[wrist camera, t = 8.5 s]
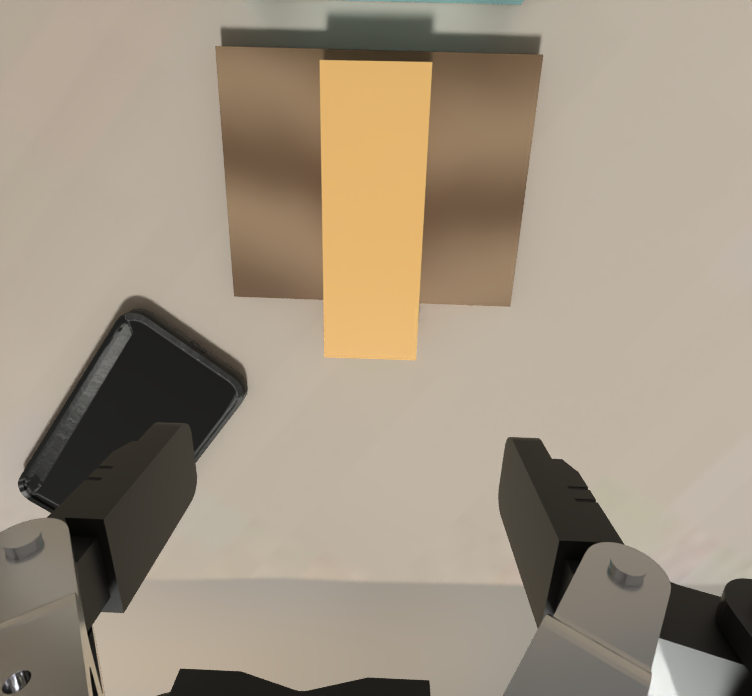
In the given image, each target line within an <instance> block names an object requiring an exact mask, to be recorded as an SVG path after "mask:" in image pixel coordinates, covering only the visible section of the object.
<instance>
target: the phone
mask: <svg viewBox="0 0 752 696" xmlns="http://www.w3.org/2000/svg"><path fill="white" fill-rule="evenodd" d="M191 344H192V345H194V346H195V347H197V348H198V349H199V350H198V349H197V348H195V347H194V346H192V345H191ZM200 350H201V351H202V352H204V353H205V354H204V353H202V352H201V351H200ZM227 367H228V368H229V369H227ZM247 389H248V388H247V384H246V381H245V379H244V378H243V376H241V375H240V374H239V373H238V372H237V371H235V370H234V369H232V368H231V367H230V366H228V365H227V364H225V363H224V362H222V361H221V360H219V359H218V358H217V357H215V356H214V355H212V354H211V353H209V352H208V351H207V350H205V349H204V348H202V347H201V346H199V345H198V344H196V343H195V342H194V341H192V340H191V339H189V338H188V337H186V336H185V335H183V334H182V333H181V332H179V331H178V330H176V329H175V328H173V327H172V326H170V325H169V324H168V323H166V322H165V321H163V320H162V319H160V318H159V317H158V316H156V315H155V314H153V313H151V312H149V311H147V310H142V309H137V310H132V311H130V312H128V313H126V314H124V315H122V316H121V317H120V318H119V319H118V320H117V321H116V323H115V324H114V326H113V328H112V329H111V331H110V332H109V334H108V336H107V337H106V339H105V341H104V342H103V344H102V345H101V347H100V349H99V350H98V352H97V353H96V355H95V357H94V358H93V360H92V362H91V363H90V365H89V366H88V368H87V370H86V371H85V373H84V375H83V376H82V378H81V379H80V381H79V383H78V384H77V386H76V387H75V389H74V391H73V392H72V394H71V396H70V397H69V399H68V400H67V402H66V404H65V405H64V407H63V408H62V410H61V412H60V413H59V415H58V417H57V418H56V420H55V421H54V423H53V425H52V426H51V428H50V430H49V431H48V433H47V434H46V436H45V438H44V439H43V441H42V442H41V444H40V446H39V447H38V449H37V451H36V452H35V454H34V455H33V457H32V459H31V460H30V462H29V463H28V465H27V467H26V468H25V470H24V472H23V473H22V475H21V476H20V478H19V481H18V487H19V490H20V492H21V493H22V494H23V496H24V497H25V498H27V499H28V500H30V501H31V502H33V503H35V504H36V505H38V506H40V507H42V508H43V509H45V510H47V511H48V512H50V513H52V512H53V511H54V510H55V509H56V508H57V507H58V506H59V505H60V504H61V503H62V502H63V501H64V500H65V499H66V498H67V497H68V496H69V495H70V494H71V493H72V492H73V491H74V490H75V489H76V488H77V487H78V486H79V485H80V484H81V483H82V482H83V481H84V480H87V477H88V476H89V475H90V474H91V473H92V472H93V471H94V470H95V469H98V468H99V465H100V464H101V463H102V462H103V461H104V460H105V459H106V458H107V457H108V456H109V455H110V454H111V453H112V452H114V451H115V450H117V449H119V448H121V447H122V446H124V445H126V444H128V443H129V442H131V441H138V440H139V439H140V438H141V437H142V436H143V435H144V434H145V432H146V431H147V430H148V429H149V428H150V427H151V426H152V425H153V424H154V423H156V422H165V423H186V424H188V425H189V426H190V429H191V433H192V441H193V449H194V457H195V463H196V462H197V460H198V459H199V458H200V457H201V455H202V454H203V453H204V451H205V450H206V449H207V447H208V446H209V445H210V444H211V442H212V441H213V440H214V438H215V437H216V436H217V434H218V433H219V432H220V431H221V429H222V428H223V427H224V425H225V424H226V423H227V421H228V420H229V419H230V418H231V416H232V415H233V414H234V412H235V411H236V410H237V409H238V407H239V406H240V405H241V403H242V402H243V400H244V399H245V397H246V395H247Z"/></svg>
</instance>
